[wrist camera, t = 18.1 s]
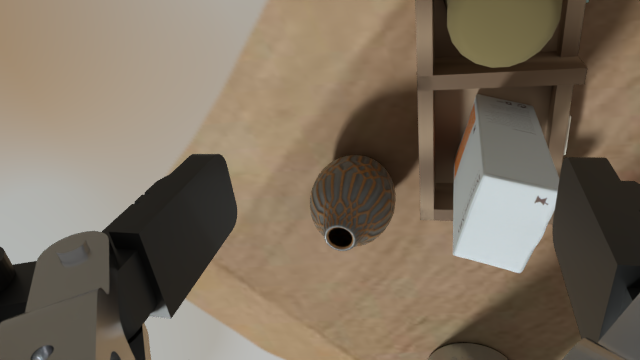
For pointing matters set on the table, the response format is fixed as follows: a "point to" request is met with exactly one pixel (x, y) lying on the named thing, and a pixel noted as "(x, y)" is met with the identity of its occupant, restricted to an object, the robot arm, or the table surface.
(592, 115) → the table surface
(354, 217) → the vase
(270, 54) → the table surface
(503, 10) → the cork
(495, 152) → the skincare box
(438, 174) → the slot rack
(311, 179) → the table surface
